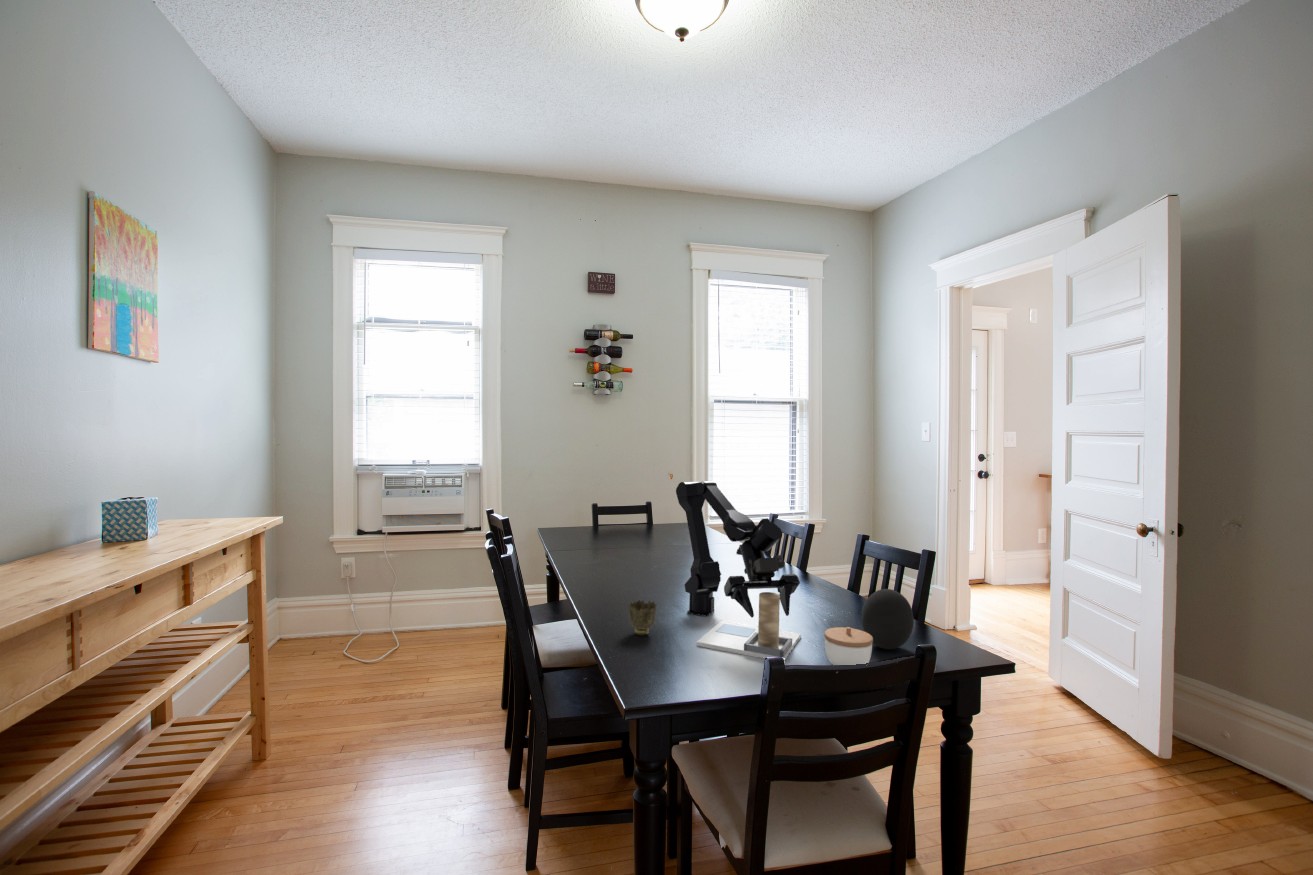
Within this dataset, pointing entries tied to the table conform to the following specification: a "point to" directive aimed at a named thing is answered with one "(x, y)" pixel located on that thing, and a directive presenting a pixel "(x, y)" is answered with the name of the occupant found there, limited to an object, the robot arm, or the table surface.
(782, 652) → the base plate
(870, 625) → the decorative egg
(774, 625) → the maple post
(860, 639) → the lidded jar
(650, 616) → the cup
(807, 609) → the table surface
